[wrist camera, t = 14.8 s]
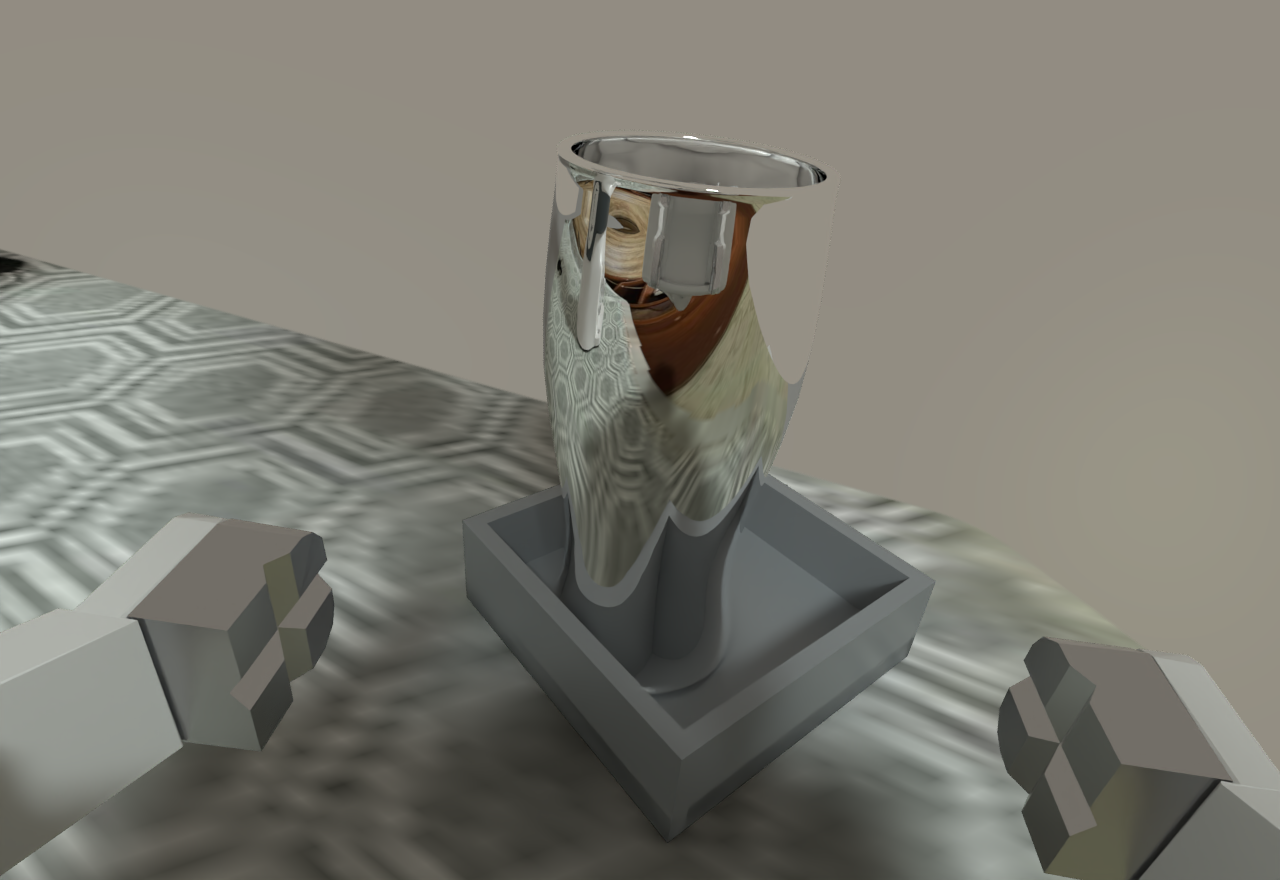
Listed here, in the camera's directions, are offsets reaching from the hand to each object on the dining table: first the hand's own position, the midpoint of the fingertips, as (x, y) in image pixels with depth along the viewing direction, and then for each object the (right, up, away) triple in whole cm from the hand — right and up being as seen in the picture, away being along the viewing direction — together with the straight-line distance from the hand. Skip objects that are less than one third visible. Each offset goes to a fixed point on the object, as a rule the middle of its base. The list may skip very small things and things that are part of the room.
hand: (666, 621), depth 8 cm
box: (+1, -5, +18) cm, 18 cm away
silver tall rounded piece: (0, -4, +16) cm, 17 cm away
